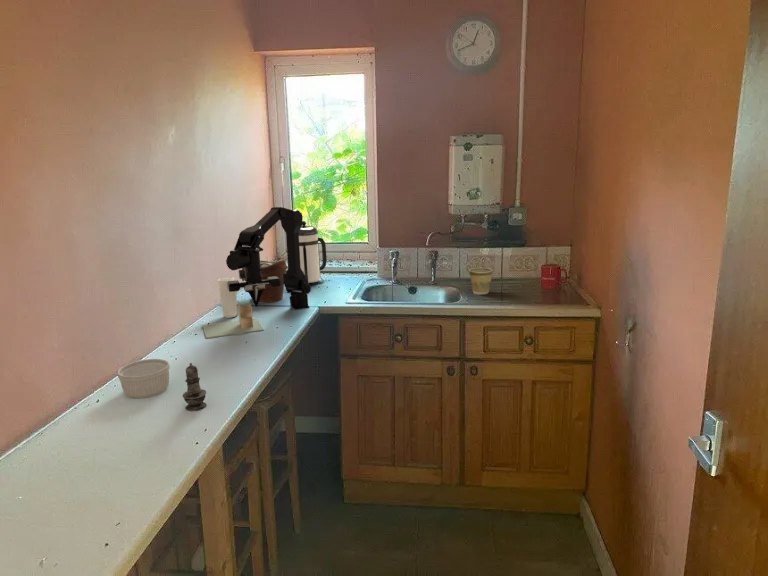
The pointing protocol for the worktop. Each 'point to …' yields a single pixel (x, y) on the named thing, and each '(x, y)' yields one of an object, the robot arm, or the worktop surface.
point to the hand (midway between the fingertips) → (256, 306)
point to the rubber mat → (230, 328)
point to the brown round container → (269, 271)
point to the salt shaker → (194, 390)
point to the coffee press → (311, 253)
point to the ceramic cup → (480, 280)
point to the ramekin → (144, 378)
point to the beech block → (245, 313)
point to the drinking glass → (227, 298)
